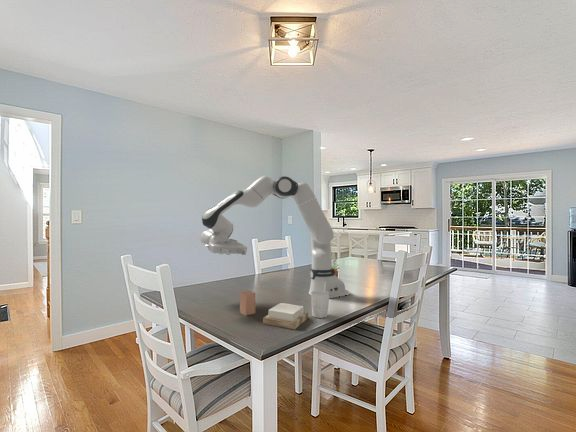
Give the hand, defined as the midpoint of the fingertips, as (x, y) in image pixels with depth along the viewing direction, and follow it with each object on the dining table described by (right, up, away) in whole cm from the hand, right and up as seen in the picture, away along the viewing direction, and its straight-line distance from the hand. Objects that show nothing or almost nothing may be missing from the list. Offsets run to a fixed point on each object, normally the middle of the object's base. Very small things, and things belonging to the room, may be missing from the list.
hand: (237, 253), depth 144 cm
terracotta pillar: (+6, -26, -9) cm, 28 cm away
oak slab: (+23, -27, -19) cm, 40 cm away
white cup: (+38, -26, -12) cm, 48 cm away
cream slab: (+24, -24, -19) cm, 38 cm away
